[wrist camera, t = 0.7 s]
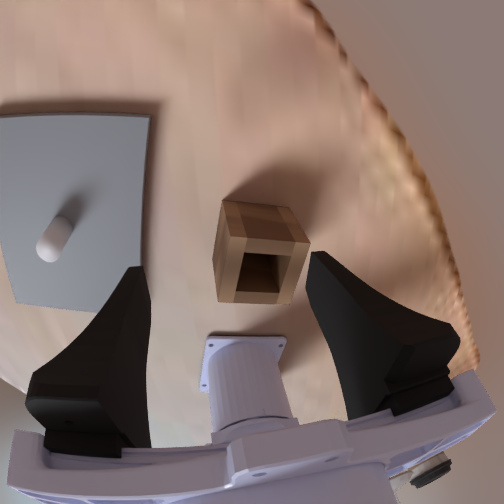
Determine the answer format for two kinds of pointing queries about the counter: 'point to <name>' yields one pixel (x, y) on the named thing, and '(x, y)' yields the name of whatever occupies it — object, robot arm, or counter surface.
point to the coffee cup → (430, 469)
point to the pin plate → (71, 204)
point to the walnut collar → (258, 253)
